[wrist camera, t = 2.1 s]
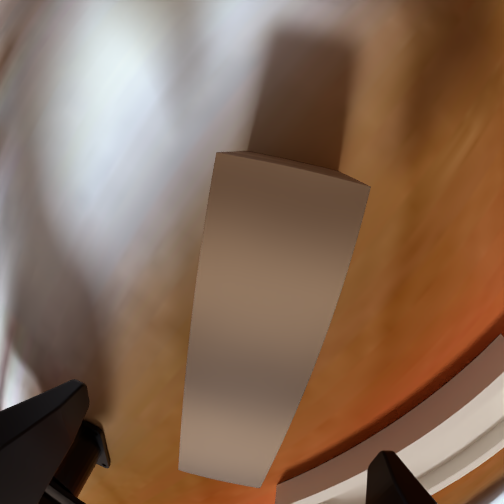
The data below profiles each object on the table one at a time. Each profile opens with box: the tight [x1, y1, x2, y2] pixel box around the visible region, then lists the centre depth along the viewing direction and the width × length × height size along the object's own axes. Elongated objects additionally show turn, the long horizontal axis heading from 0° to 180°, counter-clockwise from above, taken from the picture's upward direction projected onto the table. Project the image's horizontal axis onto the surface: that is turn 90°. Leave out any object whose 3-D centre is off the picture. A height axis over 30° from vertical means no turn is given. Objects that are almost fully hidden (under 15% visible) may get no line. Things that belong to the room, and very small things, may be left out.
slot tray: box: [275, 334, 504, 504], centre depth 17 cm, size 20×10×2 cm, turn 139°
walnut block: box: [179, 151, 371, 488], centre depth 13 cm, size 14×4×6 cm, turn 169°
